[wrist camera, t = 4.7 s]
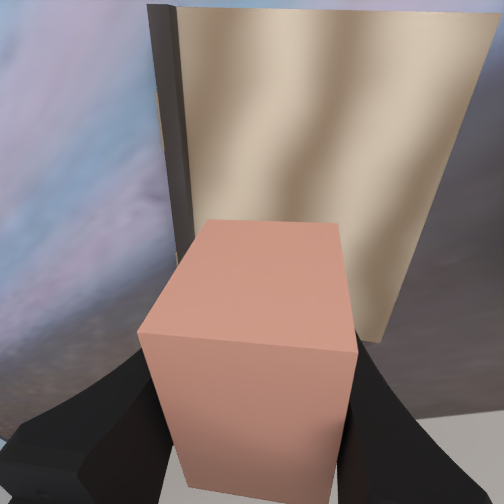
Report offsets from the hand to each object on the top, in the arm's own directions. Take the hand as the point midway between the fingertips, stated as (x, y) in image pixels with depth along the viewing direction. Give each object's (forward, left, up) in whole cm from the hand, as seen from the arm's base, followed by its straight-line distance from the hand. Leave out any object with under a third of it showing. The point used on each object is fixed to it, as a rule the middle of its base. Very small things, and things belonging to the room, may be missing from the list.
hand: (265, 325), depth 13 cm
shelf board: (-1, -1, -10) cm, 10 cm away
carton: (0, 0, -1) cm, 1 cm away
